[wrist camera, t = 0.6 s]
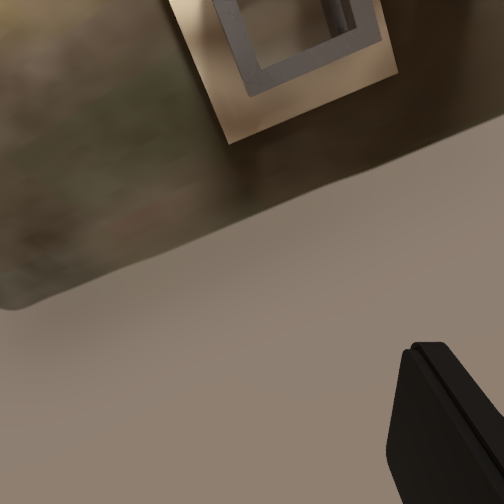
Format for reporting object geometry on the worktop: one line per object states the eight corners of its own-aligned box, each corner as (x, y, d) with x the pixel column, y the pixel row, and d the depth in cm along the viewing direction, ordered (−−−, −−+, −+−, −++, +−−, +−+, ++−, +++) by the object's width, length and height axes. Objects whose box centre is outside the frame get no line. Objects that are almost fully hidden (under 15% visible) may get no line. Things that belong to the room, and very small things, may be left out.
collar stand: (152, -44, 30) (120, -91, 22) (337, -135, 28) (375, -221, 21) (229, 142, 35) (226, 158, 27) (391, 73, 33) (439, 68, 25)
